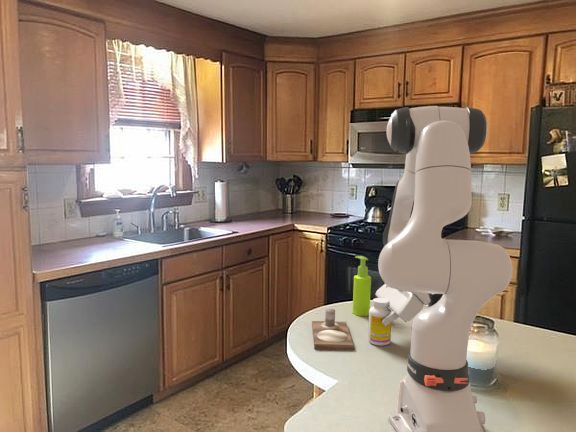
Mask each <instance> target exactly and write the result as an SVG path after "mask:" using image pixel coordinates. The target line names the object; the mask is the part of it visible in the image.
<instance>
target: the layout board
mask: <svg viewBox="0 0 576 432" xmlns="http://www.w3.org/2000/svg"><path fill="white" fill-rule="evenodd" d="M324 317H325V319H324V320H321V321H320V320H311V327H312V329H311V330H312V338H313V339H312V340H313V346H314V347H313V348H314V350H344V351H345V350H349V351H350V350H351V351H352V350H354V342H353V339H352V336H351V334H350V330H349V327H348V324H347V321H336V309H334V308H326V309H325V316H324Z"/></svg>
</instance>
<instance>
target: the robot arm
mask: <svg viewBox="0 0 576 432" xmlns="http://www.w3.org/2000/svg"><path fill="white" fill-rule="evenodd" d="M488 131H489V129H488V122H487V117H486V115H485V114H484V112H483V111H482V109H479V108H475V107H469V106H467V107H465V108H462V107H456V106H455V107H453V106H438V105H427V106H417V107H411V108H409V107H408V106H406V107H401V108H398V109H395V110H394V111H393V112H392V113H391V114H390V117H389V119H388V121H387V125H386V131H385V132H386V138H387V142H388V143H389V146H390V148H391V149H392V150H393V151H394V152H395V153H400V154H404V155H405V163H404V170H403V171H404V172H403V175H402V176H400V177H399V178H398V180H397V181H396V184H395V188H394V191H393V195H392V200H391V206H390V210H389V215H388V220H387V223H386V226H385V228H384V231H383V233H382V244H383V248H382V250H381V251H380V253H379V256H378V261H377V262H378V263H377V267H378V273H379V276H380V277H381V280H382V281H383V282H384V284H382V285H381V286H380V287H379V288H378V289H377V290H376V292H375V294H374V295H375V297H376V298H384V299H387V300H389V304H388V308H389V309H390V310H391V313H390V315H388V316H387V317H383V319H382V320H381V322H382V323H383V324H384V325H385V326H387V325H388V324H389V323H390V322H391V323H392V322H394V321H397V319H399V318H400V319H401V320H402V321H403V322H405V323H407V322H409V321H411V320H412V322H411V337H410V351H409V352H408V353H407V354H408V355H407V359H406V364H407V366H406V370H407V372H406V375H405V376H404V377H403V378H402V379H401V380H400V381H399V383H398V391H397V392H398V393H397V402H396V410H394V411H392V412H390V413H389V415H388V421H389V423H390V424H391V426H392V427H393V428H394V429H395V431H396V432H484V429H483V426H482V425H485V424H486V414H485V412H484V411H477V407H476V404H477V403H478V397H477V396H475V395H473V392H472V388H471V382H470V368H469V363H468V362H469V361H468V358H467V356H468V354H467V353H468V347H469V339H470V334H471V329H472V325H473V323H474V320H475V319H476V316H477V315H478V314H479V312H480V310H481V309H482V308H483V307H484V306H485V304H487V303H488V302H489V301H490V300H492V299H493V298H494V297H495V296H497V295H498V294H499V295H500V294H501V293H503V292H504V291H505V290H506V289H507V287H508V286H509V284H510V283H511V281H512V278H513V271H514V268H513V266H514V265H513V262H512V259H511V257H510V255H509V253H508V251H507V250H506V249H505V248H504V247H503V246H501V245H499V244H496V243H495V244H494V243H491V242H485V241H483V240H473V239H472V240H468V239H467V240H466V239H446V238H442V231H443V228H444V227H445V226H447V225H451V224H453V223H455V222H457V221H459V220H461V219H463V218H464V217H465V216H466V215H468V213H469V212H470V210H471V207H472V206H473V205H472V202H473V201H472V199H473V198H472V196H473V195H472V194H473V193H472V163H471V154H474V153H477V152H479V150H481V149H482V148H483V147H484V145H485V142H486V140H487V136H488ZM429 293H433V294H443V296H442V297H441V299H440V300H439V301H438V302H437V303H436V304H434V305H433V306H431V307H426V308H424V306H428V304H429V303H430V301H431V300H430V298H429ZM423 308H424V309H423Z"/></svg>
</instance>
